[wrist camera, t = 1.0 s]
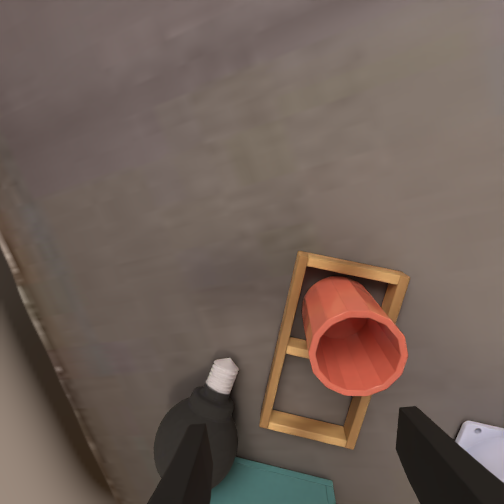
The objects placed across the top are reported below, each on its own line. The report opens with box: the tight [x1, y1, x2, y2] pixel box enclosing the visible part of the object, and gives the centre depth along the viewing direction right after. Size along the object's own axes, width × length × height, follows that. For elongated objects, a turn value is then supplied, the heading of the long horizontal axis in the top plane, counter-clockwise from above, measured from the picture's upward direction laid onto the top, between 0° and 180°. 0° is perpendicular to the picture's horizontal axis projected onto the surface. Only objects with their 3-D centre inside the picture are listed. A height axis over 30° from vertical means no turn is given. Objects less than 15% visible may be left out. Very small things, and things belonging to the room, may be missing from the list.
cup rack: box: [259, 251, 410, 449], centre depth 23 cm, size 8×15×2 cm, turn 169°
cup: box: [302, 276, 408, 396], centre depth 19 cm, size 5×5×6 cm
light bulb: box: [154, 358, 239, 489], centre depth 23 cm, size 6×6×10 cm
